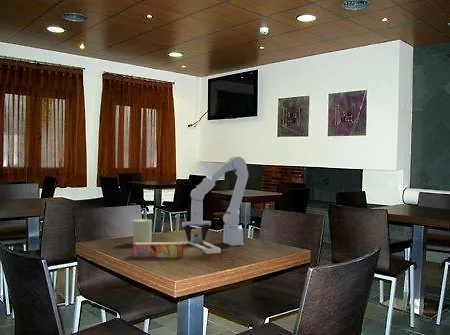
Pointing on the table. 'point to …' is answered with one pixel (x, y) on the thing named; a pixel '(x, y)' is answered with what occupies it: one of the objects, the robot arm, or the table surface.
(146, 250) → the snack package
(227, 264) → the table surface
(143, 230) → the can
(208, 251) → the rail
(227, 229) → the robot arm
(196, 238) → the block
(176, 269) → the table surface
